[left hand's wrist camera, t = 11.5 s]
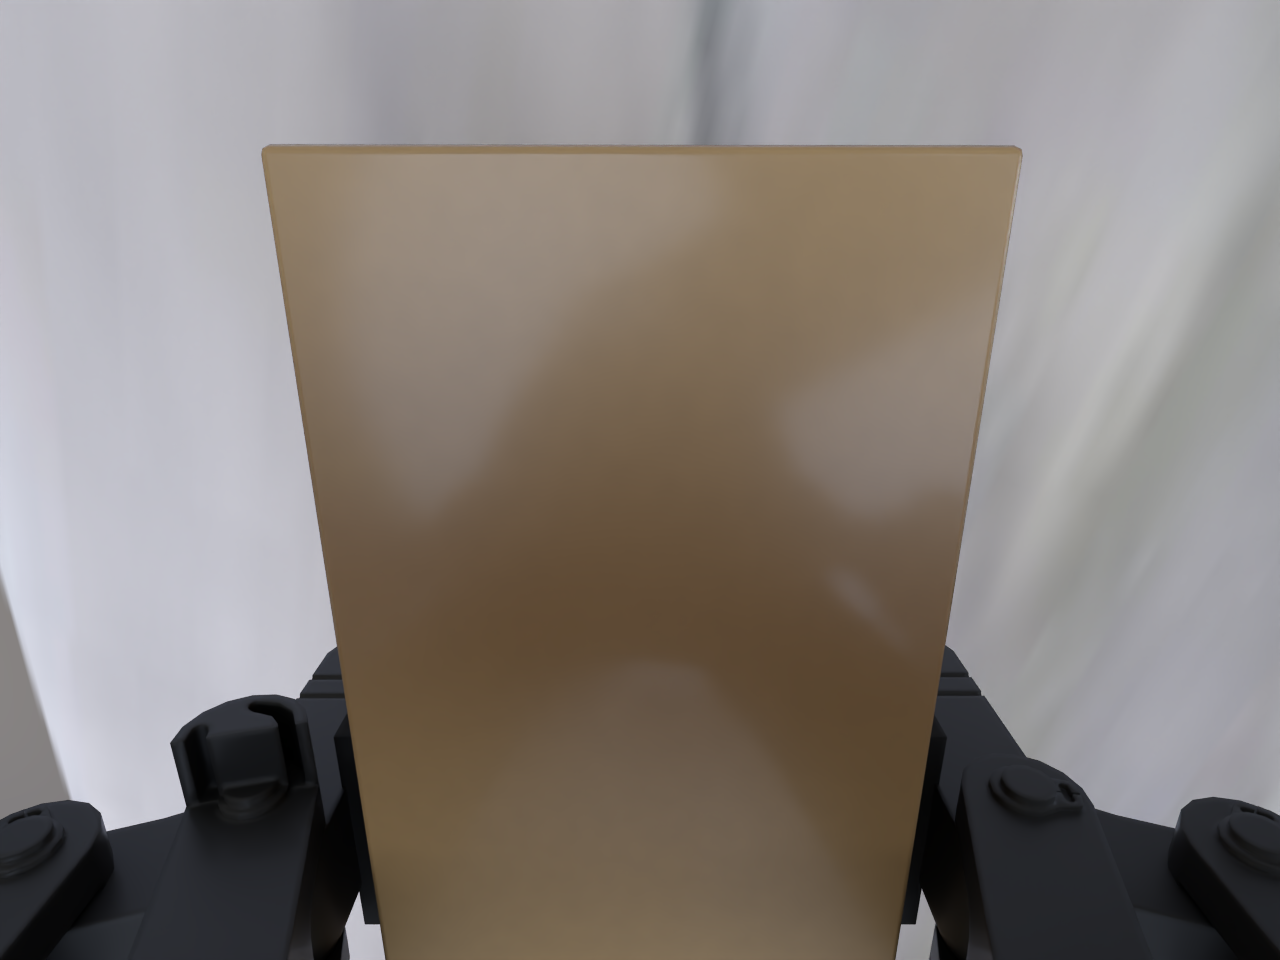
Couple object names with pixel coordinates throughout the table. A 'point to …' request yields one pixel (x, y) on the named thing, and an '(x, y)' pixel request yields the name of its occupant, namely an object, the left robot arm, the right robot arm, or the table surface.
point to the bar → (641, 525)
